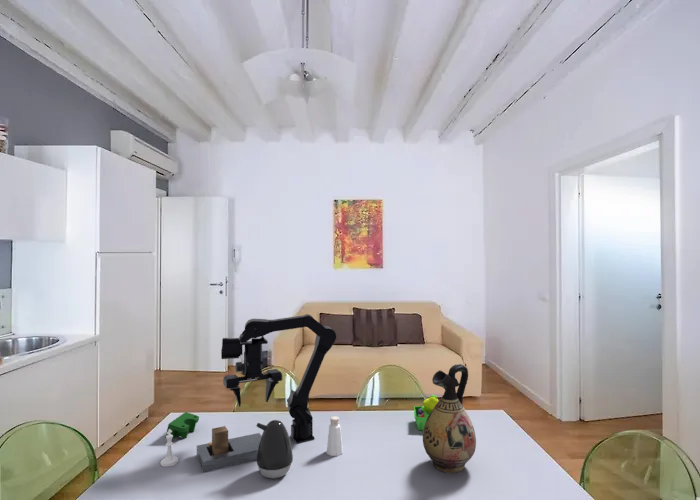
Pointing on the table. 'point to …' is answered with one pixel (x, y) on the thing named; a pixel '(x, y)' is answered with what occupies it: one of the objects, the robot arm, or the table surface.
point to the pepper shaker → (334, 438)
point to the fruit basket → (424, 411)
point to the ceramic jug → (449, 425)
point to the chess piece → (169, 452)
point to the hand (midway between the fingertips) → (253, 404)
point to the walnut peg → (219, 440)
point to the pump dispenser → (274, 450)
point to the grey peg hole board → (229, 453)
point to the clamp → (183, 425)
